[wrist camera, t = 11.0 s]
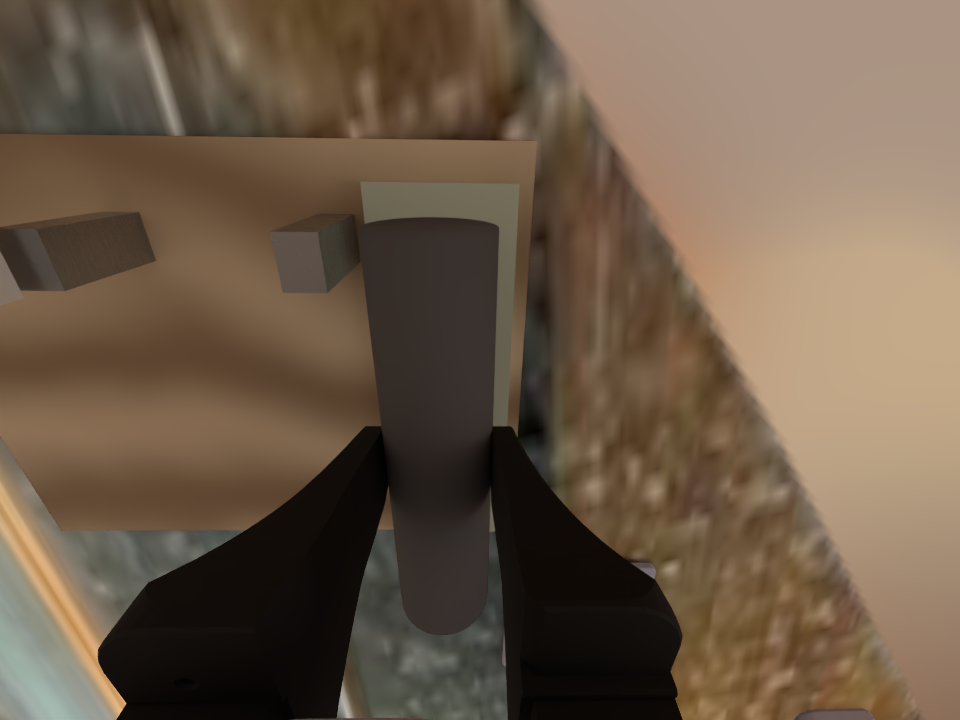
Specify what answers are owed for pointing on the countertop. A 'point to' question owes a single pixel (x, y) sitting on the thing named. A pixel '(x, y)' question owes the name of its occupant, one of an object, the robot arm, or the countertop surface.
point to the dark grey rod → (436, 404)
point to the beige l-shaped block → (8, 284)
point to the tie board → (218, 311)
